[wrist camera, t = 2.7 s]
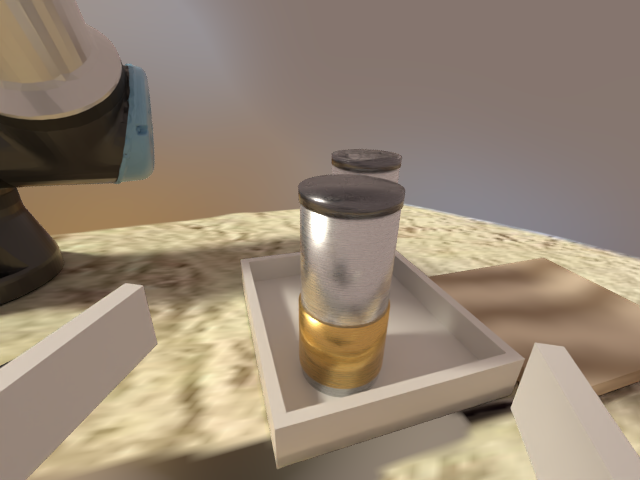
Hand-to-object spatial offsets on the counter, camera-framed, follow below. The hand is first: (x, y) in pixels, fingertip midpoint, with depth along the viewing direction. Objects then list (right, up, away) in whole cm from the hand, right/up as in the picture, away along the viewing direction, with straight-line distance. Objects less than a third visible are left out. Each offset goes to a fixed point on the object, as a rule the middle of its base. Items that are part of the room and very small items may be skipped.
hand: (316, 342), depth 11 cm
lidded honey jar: (+2, -6, +14) cm, 15 cm away
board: (+22, -4, +21) cm, 31 cm away
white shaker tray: (+3, -5, +19) cm, 20 cm away
